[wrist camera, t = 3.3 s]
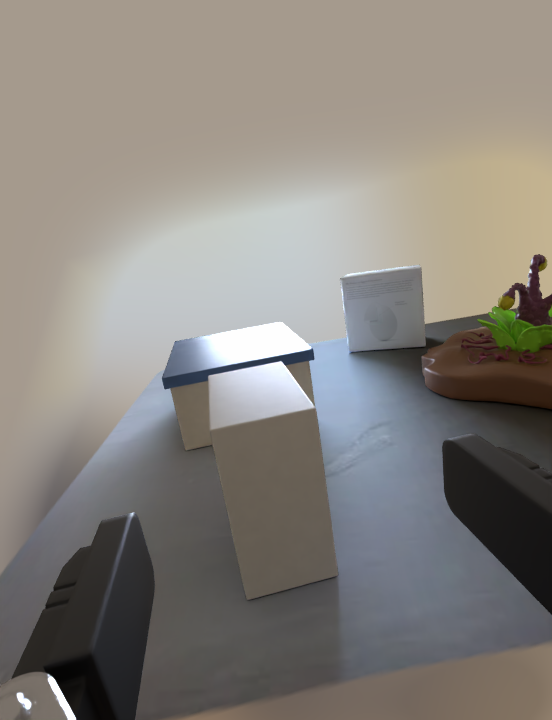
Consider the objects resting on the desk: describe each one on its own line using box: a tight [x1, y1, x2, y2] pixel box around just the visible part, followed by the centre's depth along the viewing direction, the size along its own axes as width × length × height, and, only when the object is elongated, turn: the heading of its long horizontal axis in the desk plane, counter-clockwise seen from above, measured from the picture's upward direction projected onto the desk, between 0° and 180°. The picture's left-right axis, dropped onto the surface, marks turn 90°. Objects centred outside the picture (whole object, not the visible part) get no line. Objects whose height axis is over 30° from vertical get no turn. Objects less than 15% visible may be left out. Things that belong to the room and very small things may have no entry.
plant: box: [422, 254, 552, 409], centre depth 38 cm, size 20×20×11 cm
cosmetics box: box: [340, 265, 426, 352], centre depth 56 cm, size 10×6×10 cm, turn 73°
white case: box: [208, 361, 338, 600], centre depth 22 cm, size 5×8×9 cm, turn 10°
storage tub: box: [162, 322, 315, 451], centre depth 41 cm, size 13×15×7 cm
